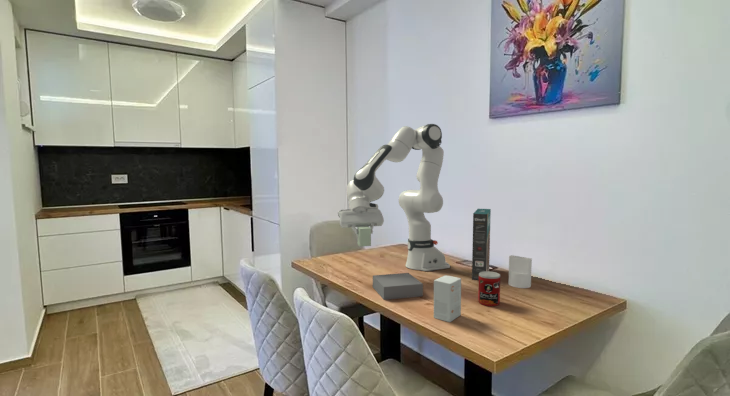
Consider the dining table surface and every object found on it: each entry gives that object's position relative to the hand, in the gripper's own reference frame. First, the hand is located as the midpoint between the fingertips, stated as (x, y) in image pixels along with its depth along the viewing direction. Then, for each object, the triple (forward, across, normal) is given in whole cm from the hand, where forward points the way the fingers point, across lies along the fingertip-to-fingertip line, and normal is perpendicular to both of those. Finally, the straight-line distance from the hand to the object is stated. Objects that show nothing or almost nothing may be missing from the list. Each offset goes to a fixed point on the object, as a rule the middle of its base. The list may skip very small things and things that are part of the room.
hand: (364, 233), depth 169 cm
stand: (+29, +9, +1) cm, 30 cm away
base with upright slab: (+32, +63, -1) cm, 71 cm away
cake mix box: (+19, +56, +12) cm, 60 cm away
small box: (+49, +17, -19) cm, 55 cm away
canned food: (+44, +38, -13) cm, 59 cm away
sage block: (+4, 0, +4) cm, 5 cm away
